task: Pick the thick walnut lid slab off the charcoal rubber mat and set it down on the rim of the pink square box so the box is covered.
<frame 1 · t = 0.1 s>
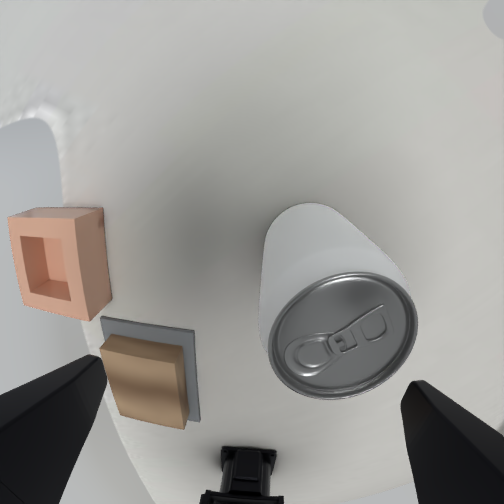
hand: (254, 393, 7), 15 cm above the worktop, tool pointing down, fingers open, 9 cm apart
can: (308, 245, 21), on the worktop
pink square box: (70, 252, 22), on the worktop
mat: (152, 374, 26), on the worktop
lid: (151, 376, 26), resting on mat
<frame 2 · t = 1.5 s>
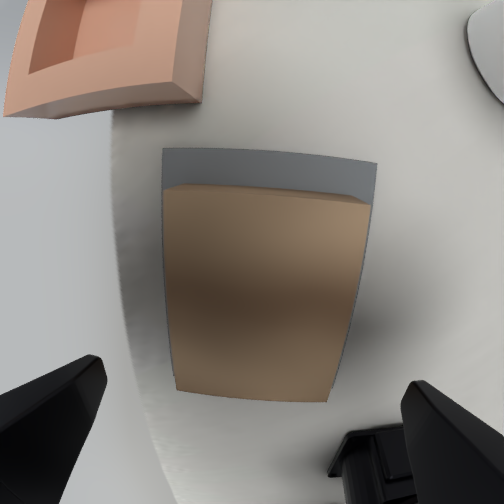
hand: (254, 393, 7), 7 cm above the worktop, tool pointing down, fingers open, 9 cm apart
can: (501, 61, 9), on the worktop
pink square box: (128, 34, 10), on the worktop
mat: (260, 285, 14), on the worktop
lid: (260, 289, 13), resting on mat
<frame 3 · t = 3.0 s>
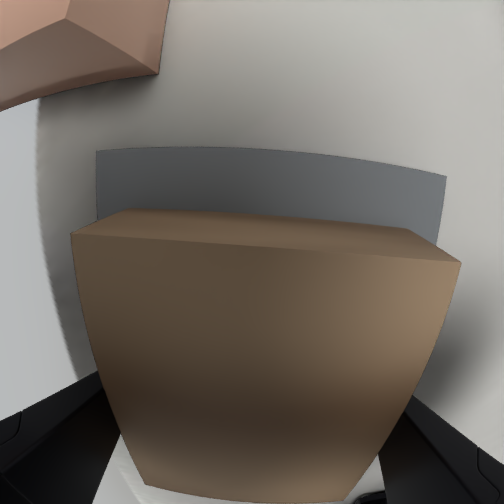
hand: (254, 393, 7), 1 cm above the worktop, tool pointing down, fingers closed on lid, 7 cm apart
mat: (257, 361, 9), on the worktop
lid: (256, 369, 8), resting on mat, touching gripper
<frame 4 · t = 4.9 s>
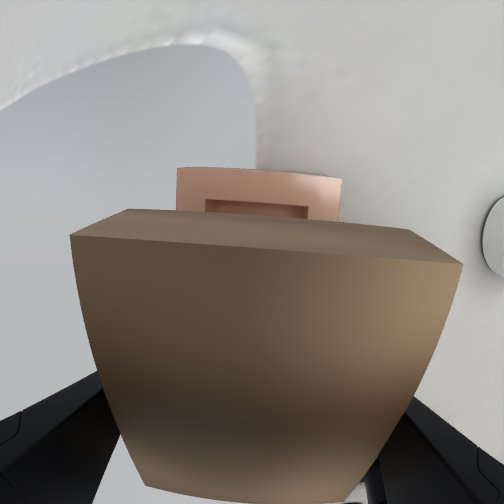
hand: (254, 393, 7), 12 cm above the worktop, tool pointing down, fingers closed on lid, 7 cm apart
can: (503, 233, 17), on the worktop
pink square box: (258, 234, 19), on the worktop
lid: (257, 370, 8), point 11 cm above the worktop, touching gripper
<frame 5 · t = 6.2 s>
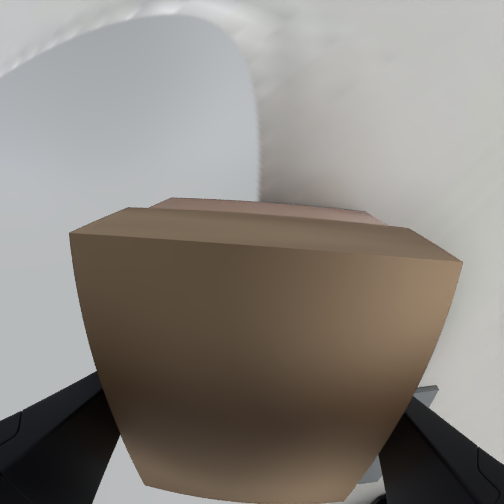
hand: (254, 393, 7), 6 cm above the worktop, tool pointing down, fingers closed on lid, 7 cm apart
pink square box: (261, 294, 13), on the worktop
mat: (348, 448, 16), on the worktop
lid: (256, 369, 8), point 5 cm above the worktop, touching gripper
when the fingers open (6 cm above the worktop, at t = 7.0 s): lid drops 1 cm, resting on pink square box.
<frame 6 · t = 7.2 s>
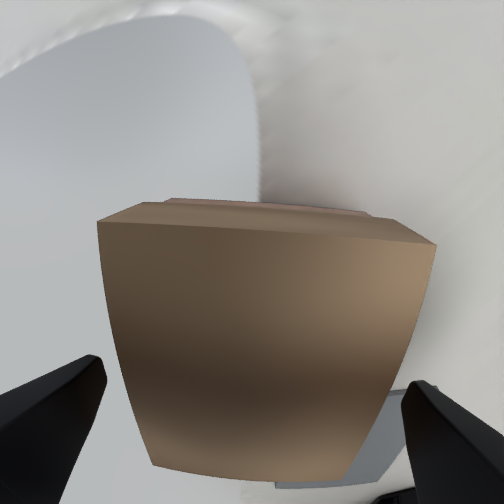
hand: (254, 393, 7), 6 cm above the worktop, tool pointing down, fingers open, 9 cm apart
pink square box: (262, 294, 13), on the worktop
mat: (348, 448, 16), on the worktop
lid: (258, 349, 9), point 4 cm above the worktop, touching pink square box
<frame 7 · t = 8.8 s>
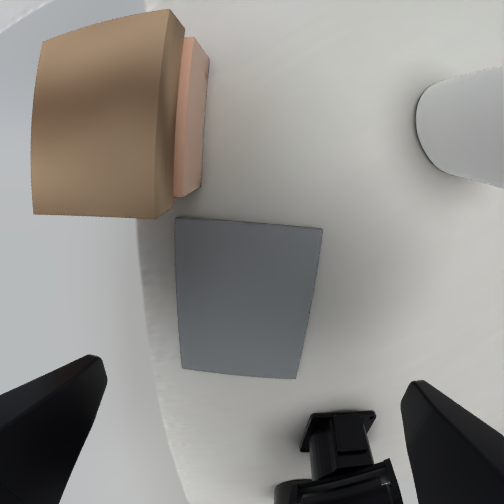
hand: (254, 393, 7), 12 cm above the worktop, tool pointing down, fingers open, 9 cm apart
supplement bottle: (298, 486, 30), on the worktop
can: (449, 128, 15), on the worktop
pink square box: (142, 122, 16), on the worktop
mat: (242, 308, 20), on the worktop
lid: (111, 117, 12), point 4 cm above the worktop, touching pink square box
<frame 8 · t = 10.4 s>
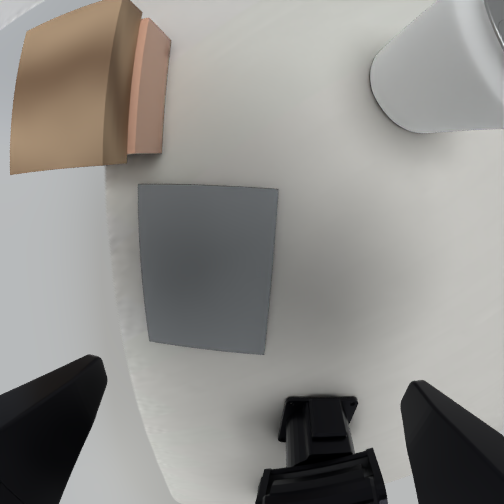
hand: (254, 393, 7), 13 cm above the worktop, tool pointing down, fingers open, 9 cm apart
can: (410, 88, 15), on the worktop
pink square box: (112, 99, 16), on the worktop
mat: (204, 274, 20), on the worktop
lid: (80, 90, 13), point 4 cm above the worktop, touching pink square box
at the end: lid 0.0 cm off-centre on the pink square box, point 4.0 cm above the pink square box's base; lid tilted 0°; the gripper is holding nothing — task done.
